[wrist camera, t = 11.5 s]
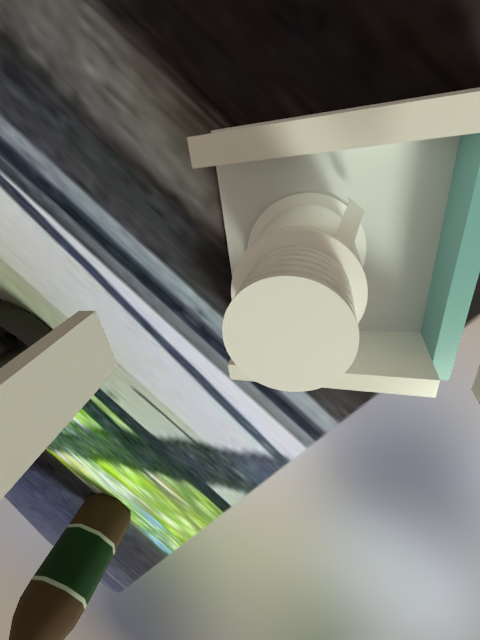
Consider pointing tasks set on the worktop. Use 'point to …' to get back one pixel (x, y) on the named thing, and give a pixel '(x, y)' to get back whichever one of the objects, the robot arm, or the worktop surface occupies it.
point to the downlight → (299, 294)
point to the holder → (375, 218)
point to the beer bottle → (71, 571)
